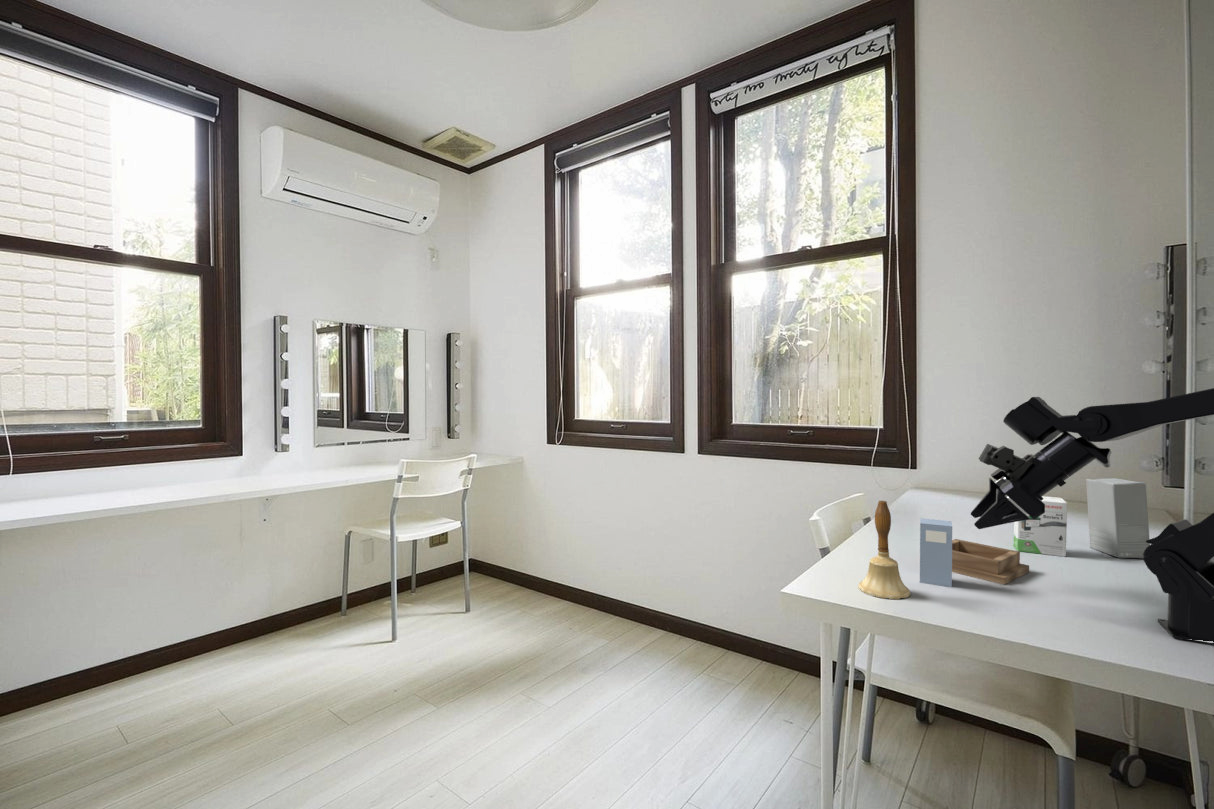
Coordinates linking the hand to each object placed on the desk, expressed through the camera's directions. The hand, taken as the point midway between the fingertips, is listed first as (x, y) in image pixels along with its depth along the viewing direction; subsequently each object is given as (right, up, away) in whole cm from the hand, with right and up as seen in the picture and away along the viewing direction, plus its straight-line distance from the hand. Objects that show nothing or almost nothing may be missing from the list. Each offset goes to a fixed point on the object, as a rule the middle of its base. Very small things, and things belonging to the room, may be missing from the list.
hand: (974, 521), depth 98 cm
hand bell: (-17, -12, -1) cm, 21 cm away
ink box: (+28, -11, +21) cm, 37 cm away
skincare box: (+43, -11, +19) cm, 49 cm away
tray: (+7, -12, +10) cm, 17 cm away
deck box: (-5, -12, +3) cm, 13 cm away
